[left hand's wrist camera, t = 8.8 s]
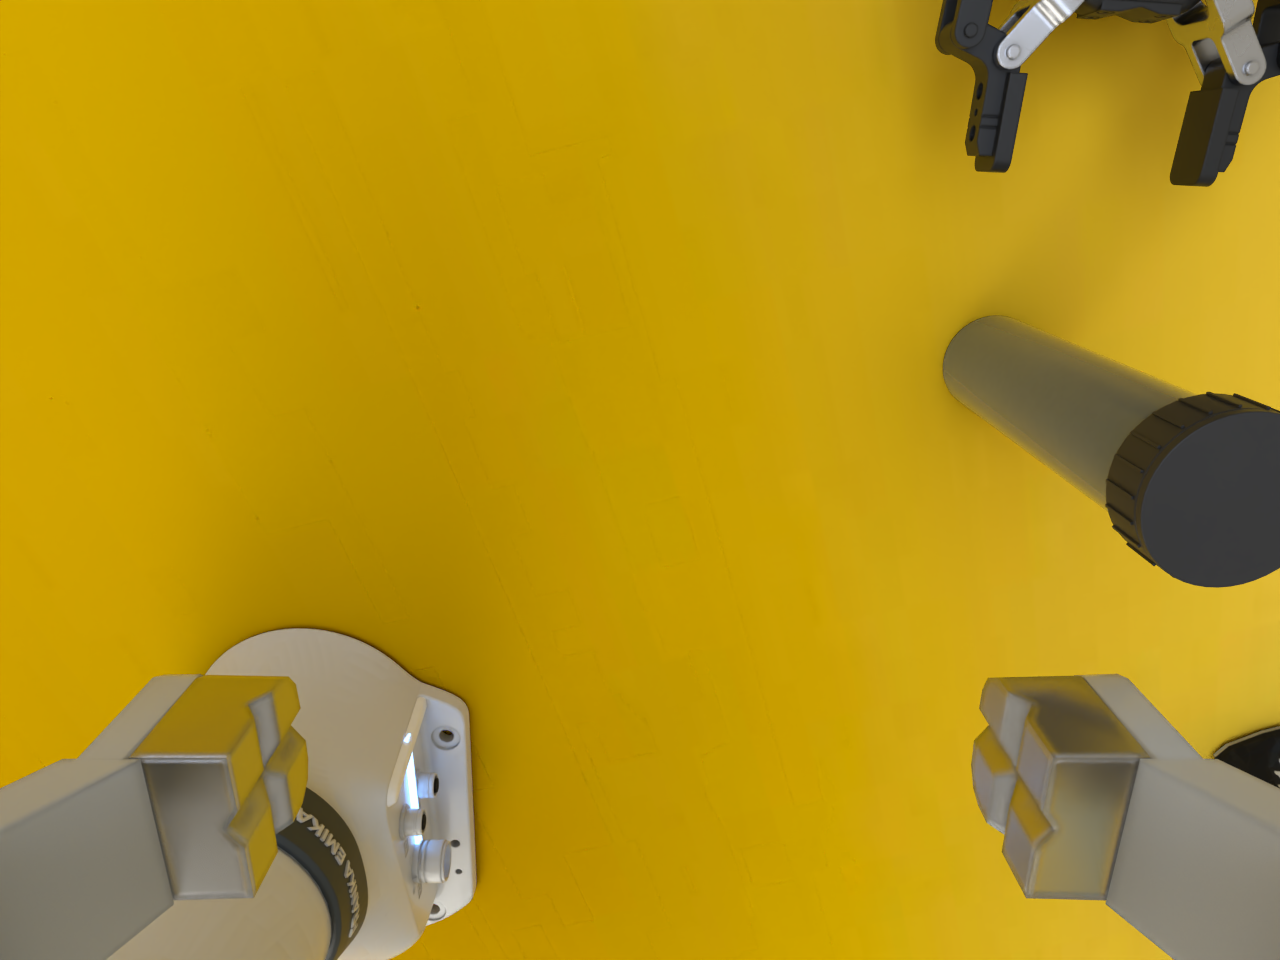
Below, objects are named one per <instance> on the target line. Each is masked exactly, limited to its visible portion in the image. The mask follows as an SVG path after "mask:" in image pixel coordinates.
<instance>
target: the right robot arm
mask: <svg viewBox="0 0 1280 960" xmlns="http://www.w3.org/2000/svg"><path fill="white" fill-rule="evenodd" d="M1205 1H1206V4H1207V6H1208V7H1207V6H1205V5H1204V4H1203V3H1202V1H1201V0H1020V1H1019V2H1018V3H1017V4H1016V5H1015V6H1014V8H1013V9H1012V10H1011V13H1010V15H1009V17H1008V18H1007V19H1006V20H1005V21H1004V22H1003V23H1002V24H1001V26H1000V27H999V28H998V29H997V28H995V27H993V26H991V25H989V24H988V20H989V16H990V11H991V7H992V2H993V0H943V4H942V9H941V13H940V18H939V23H938V28H937V32H936V37H935V44H936V47H937V49H938V50H939V51H940V52H941V53H943V54H946V55H953V56H955V57H957V58H959V59H961V60H963V61H965V62H967V63H968V64H970V65H971V67H972V68H973V70H974V72H975V77H976V81H975V87H974V93H973V99H972V105H971V111H970V118H969V122H968V129H967V134H966V140H965V145H966V150H967V155H968V156H976V158H975V169H976V171H981V172H1002V173H1005V172H1006V171H1007V170H1008V168H1009V166H1010V163H1011V159H1012V154H1013V149H1014V144H1015V138H1016V133H1017V128H1018V122H1019V117H1020V112H1021V107H1022V101H1023V96H1024V91H1025V85H1026V80H1027V75H1028V73H1019V72H1020V67H1021V65H1022V64H1023V63H1024V62H1025V61H1026V59H1027V58H1028V57H1029V56H1030V55H1031V54H1032V53H1033V52H1034V51H1035V50H1036V48H1037V47H1038V46H1039V45H1040V44H1041V43H1042V42H1043V41H1044V40H1045V39H1046V37H1047V36H1048V35H1049V34H1050V33H1051V32H1052V31H1053V30H1054V29H1055V28H1056V27H1057V26H1058V25H1060V24H1061V23H1063V22H1064V21H1065V20H1066V19H1067V18H1069V17H1070V16H1071V15H1072V14H1073V12H1076V13H1077V18H1083V19H1099V18H1103V17H1108V16H1112V15H1117V16H1119V17H1122V18H1124V19H1127V20H1129V21H1132V22H1141V23H1154V22H1158V21H1161V20H1165V19H1166V21H1167V24H1168V26H1169V29H1170V31H1171V33H1172V36H1173V38H1174V39H1175V41H1176V42H1177V43H1179V44H1181V45H1183V46H1184V48H1185V49H1186V51H1187V54H1188V56H1189V58H1190V61H1191V63H1192V66H1193V68H1194V70H1195V73H1196V75H1197V78H1198V80H1199V82H1200V84H1201V86H1202V87H1201V91H1193V92H1190V96H1189V100H1188V104H1187V108H1186V112H1185V116H1184V120H1183V124H1182V128H1181V132H1180V136H1179V140H1178V144H1177V148H1176V152H1175V156H1174V161H1173V165H1172V169H1171V173H1170V181H1171V183H1172V184H1173V185H1184V186H1206V187H1207V186H1210V185H1211V184H1212V183H1213V182H1214V181H1215V179H1216V177H1217V174H1218V172H1225V170H1226V168H1227V167H1228V165H1229V164H1230V162H1231V161H1232V159H1233V155H1234V152H1235V148H1236V143H1237V140H1238V137H1239V135H1238V134H1239V132H1240V129H1241V125H1242V122H1243V118H1244V114H1245V110H1246V107H1247V103H1248V99H1249V96H1250V94H1251V92H1252V90H1253V89H1254V87H1255V86H1256V85H1257V84H1258V83H1260V82H1261V81H1263V80H1265V79H1268V78H1271V77H1274V76H1278V75H1280V0H1258V2H1257V7H1256V12H1255V17H1254V21H1253V26H1252V23H1251V18H1252V16H1253V14H1254V4H1253V2H1252V0H1205Z"/></svg>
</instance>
